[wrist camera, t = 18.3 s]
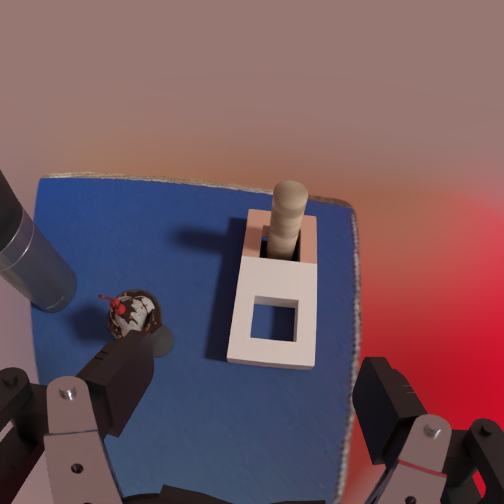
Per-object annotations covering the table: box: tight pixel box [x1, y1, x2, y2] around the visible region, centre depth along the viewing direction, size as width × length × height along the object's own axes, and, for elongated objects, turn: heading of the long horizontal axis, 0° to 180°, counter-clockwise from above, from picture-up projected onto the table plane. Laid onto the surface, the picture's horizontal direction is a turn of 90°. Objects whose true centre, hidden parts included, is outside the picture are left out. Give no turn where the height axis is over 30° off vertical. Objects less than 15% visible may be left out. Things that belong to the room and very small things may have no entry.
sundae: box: [98, 289, 174, 357], centre depth 32 cm, size 7×7×15 cm
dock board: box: [227, 209, 317, 370], centre depth 42 cm, size 24×11×3 cm, turn 174°
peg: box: [266, 180, 308, 261], centre depth 41 cm, size 4×4×14 cm
